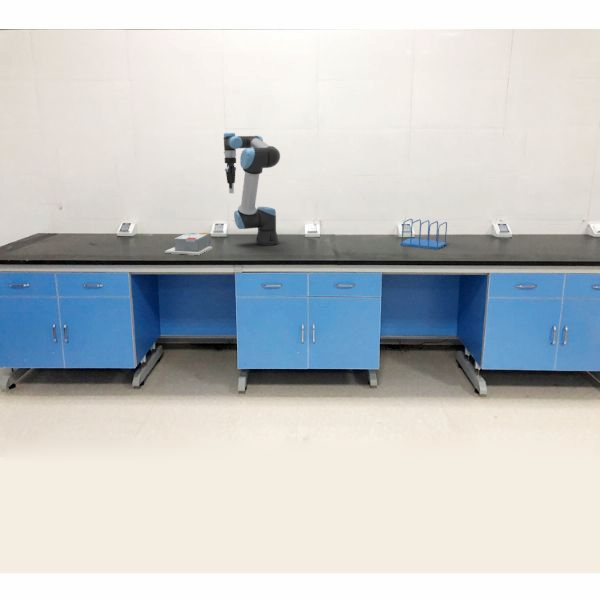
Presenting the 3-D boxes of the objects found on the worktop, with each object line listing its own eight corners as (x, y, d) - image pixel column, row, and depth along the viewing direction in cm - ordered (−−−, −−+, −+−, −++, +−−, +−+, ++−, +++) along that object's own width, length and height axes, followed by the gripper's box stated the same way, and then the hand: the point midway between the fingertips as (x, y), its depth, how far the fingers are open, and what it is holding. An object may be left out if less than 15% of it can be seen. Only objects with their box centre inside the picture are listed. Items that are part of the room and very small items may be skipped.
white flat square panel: (212, 248, 364) (212, 246, 364) (198, 255, 346) (198, 253, 345) (180, 246, 370) (180, 244, 370) (164, 253, 352) (164, 251, 351)
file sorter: (399, 245, 373) (401, 221, 369) (410, 240, 388) (411, 217, 383) (438, 249, 361) (439, 225, 356) (447, 244, 375) (448, 221, 371)
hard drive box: (210, 232, 366) (198, 239, 347) (211, 245, 368) (199, 251, 349) (186, 232, 369) (173, 238, 350) (187, 244, 371) (174, 251, 352)
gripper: (228, 156, 393) (230, 191, 400) (220, 157, 382) (222, 194, 389) (239, 156, 391) (240, 192, 398) (231, 157, 380) (233, 194, 386)
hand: (231, 193), depth 393 cm, fingers closed
